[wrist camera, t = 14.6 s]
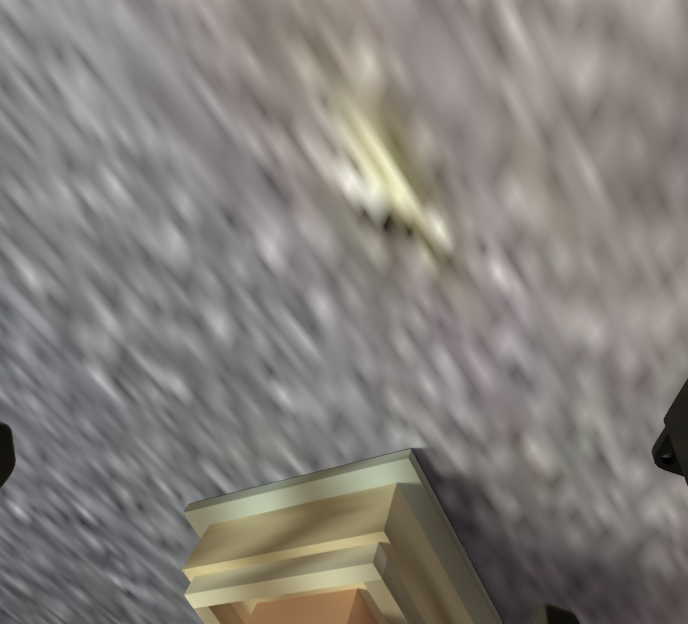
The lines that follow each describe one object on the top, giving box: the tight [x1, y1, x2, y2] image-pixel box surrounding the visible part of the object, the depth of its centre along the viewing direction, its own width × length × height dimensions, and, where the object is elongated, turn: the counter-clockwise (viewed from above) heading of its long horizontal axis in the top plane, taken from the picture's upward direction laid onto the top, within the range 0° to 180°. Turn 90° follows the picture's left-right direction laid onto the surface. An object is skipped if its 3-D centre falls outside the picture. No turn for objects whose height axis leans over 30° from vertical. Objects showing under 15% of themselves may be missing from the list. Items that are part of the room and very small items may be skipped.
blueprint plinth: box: [182, 449, 503, 624], centre depth 27 cm, size 12×12×4 cm
